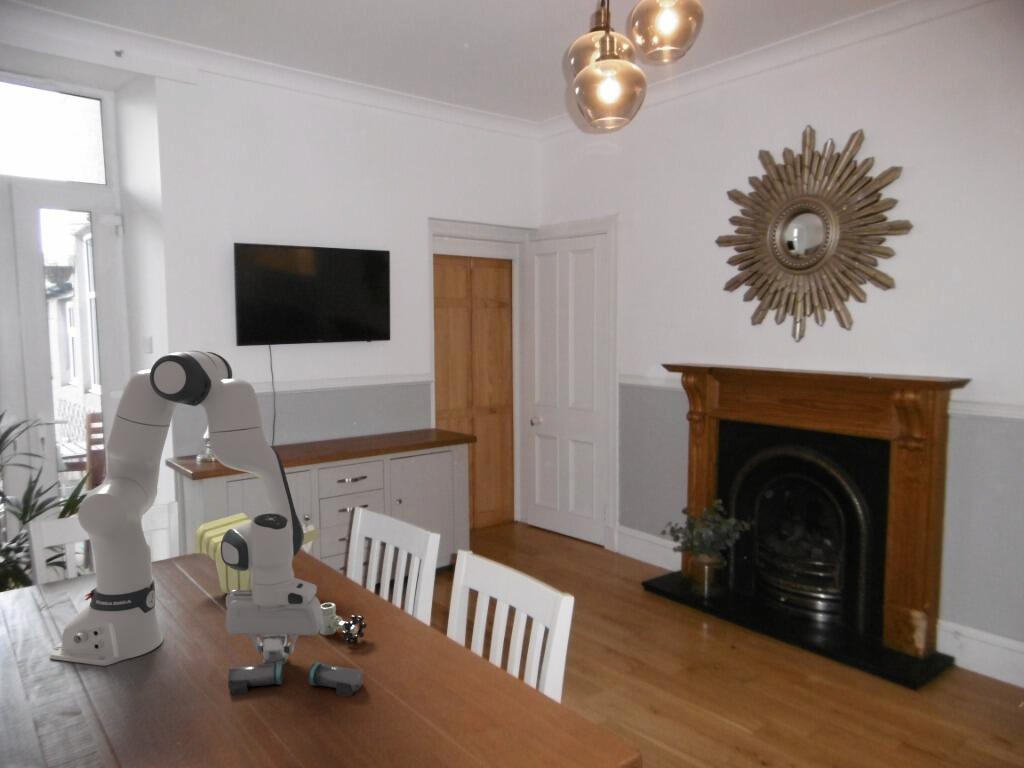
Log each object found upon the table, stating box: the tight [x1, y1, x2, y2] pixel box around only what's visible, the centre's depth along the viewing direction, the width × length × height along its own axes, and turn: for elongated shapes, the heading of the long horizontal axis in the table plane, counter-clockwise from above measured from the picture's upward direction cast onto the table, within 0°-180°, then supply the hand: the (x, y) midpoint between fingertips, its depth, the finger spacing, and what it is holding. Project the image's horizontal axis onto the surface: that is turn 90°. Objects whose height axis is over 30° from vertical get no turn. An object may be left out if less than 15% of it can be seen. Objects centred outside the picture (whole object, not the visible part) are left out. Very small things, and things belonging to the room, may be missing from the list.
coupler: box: [261, 634, 288, 666], centre depth 156 cm, size 5×5×6 cm
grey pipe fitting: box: [227, 661, 284, 696], centre depth 146 cm, size 10×5×4 cm, turn 103°
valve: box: [319, 602, 367, 645], centre depth 168 cm, size 7×7×12 cm
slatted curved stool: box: [194, 511, 319, 595], centre depth 195 cm, size 30×16×18 cm, turn 60°
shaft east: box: [307, 661, 364, 698], centre depth 146 cm, size 10×5×4 cm, turn 73°
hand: (275, 652), depth 156 cm, fingers closed on coupler, 5 cm apart
